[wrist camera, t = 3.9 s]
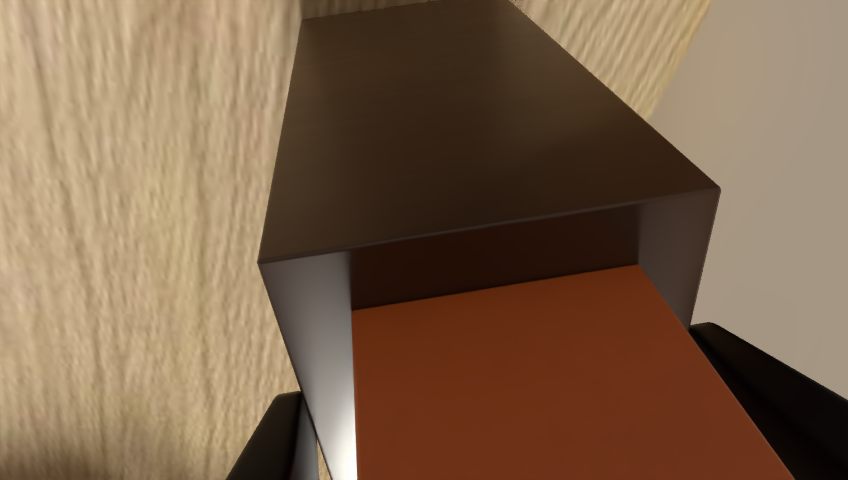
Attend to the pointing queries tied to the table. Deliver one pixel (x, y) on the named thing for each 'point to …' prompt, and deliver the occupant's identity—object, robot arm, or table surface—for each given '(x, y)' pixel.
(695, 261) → the stand
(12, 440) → the table surface
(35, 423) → the table surface
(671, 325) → the block
